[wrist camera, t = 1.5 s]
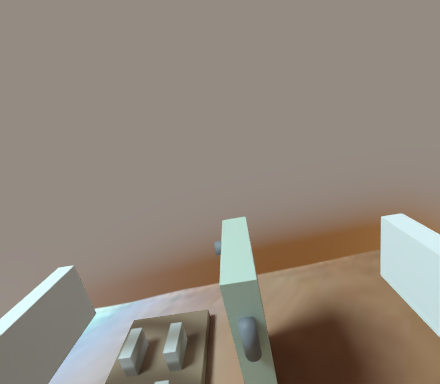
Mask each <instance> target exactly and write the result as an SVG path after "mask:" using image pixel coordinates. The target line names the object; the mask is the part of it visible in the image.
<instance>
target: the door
mask: <svg viewBox="0 0 440 384" xmlns="http://www.w3.org/2000/svg"><path fill="white" fill-rule="evenodd" d="M215 251H216V254H217V255H220V254H221V263H220V265H221V266H220V289H221V293H222V297H223V301H224V305H225V309H226V312H227V316H228V320H229V324H230V328H231V332H232V336H233V340H234V343H235V347H236V351H237V355H238V359H239V363H240V367H241V371H242V374H243V378H244V382H245V384H278V383H277V378H276V373H275V367H274V362H273V357H272V352H271V346H270V341H269V336H268V331H267V326H266V320H265V315H264V310H263V305H262V300H261V295H260V290H259V284H258V279H257V274H256V269H255V264H254V259H253V254H252V249H251V243H250V238H249V233H248V228H247V223H246V218H245V217H240V218H235V219H229V220H223V221H222V241H216V242H215Z"/></svg>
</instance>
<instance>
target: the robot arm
mask: <svg viewBox="0 0 440 384" xmlns="http://www.w3.org/2000/svg"><path fill="white" fill-rule="evenodd" d="M381 276H382V277H383V278H384V279H385V280H386V281H387V282H388V283H389V284H390V285H391V286H392V287H393V289H394V290H395V291H396V292H397V293H398V294H399V295H400V296H401V297H402V298H403V299H404V300H405V301H406V302H407V303H408V304H409V305H410V306H411V307H412V308H413V310H414V311H415V312H416V313H417V314H418V315H419V316H420V317H421V318H422V319H423V320H424V321H425V322H426V323H427V324H428V325H429V326H430V327H431V328H432V330H433V331H434V332H435V333H436V334H437V335H438V336H439V337H440V235H439V234H438V233H436V232H434V231H432V230H430V229H429V228H427V227H425V226H423V225H422V224H420V223H418V222H416V221H414V220H413V219H411V218H409V217H407V216H406V215H404V214H402V213H401V214H395V215H389V216H382V217H381ZM95 314H96V312H95V310H94V307H93V305H92V303H91V301H90V299H89V297H88V295H87V292H86V290H85V288H84V286H83V284H82V281H81V279H80V277H79V275H78V273H77V271H76V268H75V267H74V266H68V267H61V268H58V269H57V270H56V271H55V272H53V274H51V275H50V276H49V277H48V278H47V279H46V280H44V281H43V282H42V283H41V284H40V285H39V286H38V287H36V288H35V289H34V290H33V291H32V292H31V293H30V294H29V295H27V296H26V297H25V298H24V299H23V300H22V301H21V302H19V303H18V304H17V305H16V306H15V307H14V308H12V309H11V310H10V311H9V312H8V313H7V314H6V315H4V316H3V317H2V318H1V319H0V384H48V383H49V382H50V380H51V379H52V377H53V376H54V374H55V373H56V371H57V370H58V368H59V367H60V365H61V364H62V363H63V361H64V360H65V358H66V357H67V355H68V354H69V352H70V351H71V349H72V348H73V346H74V345H75V343H76V342H77V341H78V339H79V338H80V336H81V335H82V333H83V332H84V330H85V329H86V327H87V326H88V324H89V323H90V322H91V320H92V319H93V317H94V316H95Z"/></svg>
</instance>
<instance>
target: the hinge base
mask: <svg viewBox="0 0 440 384" xmlns="http://www.w3.org/2000/svg"><path fill="white" fill-rule="evenodd" d="M209 328H210V314H209V311H208V310H202V311H195V312H189V313H182V314H175V315H168V316H161V317H154V318H147V319H140V320H134V322H133V324H132V326H131V328H130V330H129V332H128V335H127V337H126V339H125V341H124V343H123V346H122V348H121V350H120V352H119V354H118V357H117V359H116V361H115V363H114V365H113V368H112V370H111V372H110V374H109V376H108V379H107V381H106V383H105V384H205V375H206V363H207V351H208V339H209Z"/></svg>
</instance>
